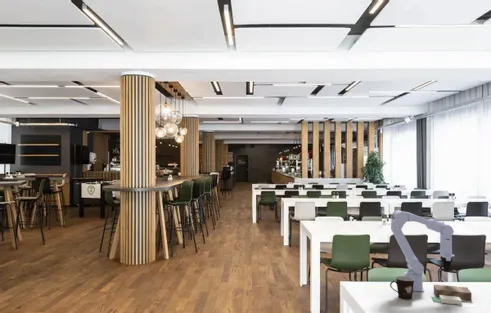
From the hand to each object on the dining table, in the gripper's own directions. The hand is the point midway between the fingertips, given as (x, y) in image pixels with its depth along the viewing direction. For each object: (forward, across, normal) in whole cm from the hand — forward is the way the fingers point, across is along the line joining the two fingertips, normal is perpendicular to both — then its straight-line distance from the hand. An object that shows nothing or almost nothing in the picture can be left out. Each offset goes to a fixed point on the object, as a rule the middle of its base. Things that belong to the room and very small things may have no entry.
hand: (446, 271), depth 213 cm
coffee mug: (+11, -22, +24) cm, 34 cm away
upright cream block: (+8, -21, +2) cm, 23 cm away
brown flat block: (+10, -10, -1) cm, 14 cm away
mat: (+10, -19, +4) cm, 22 cm away
